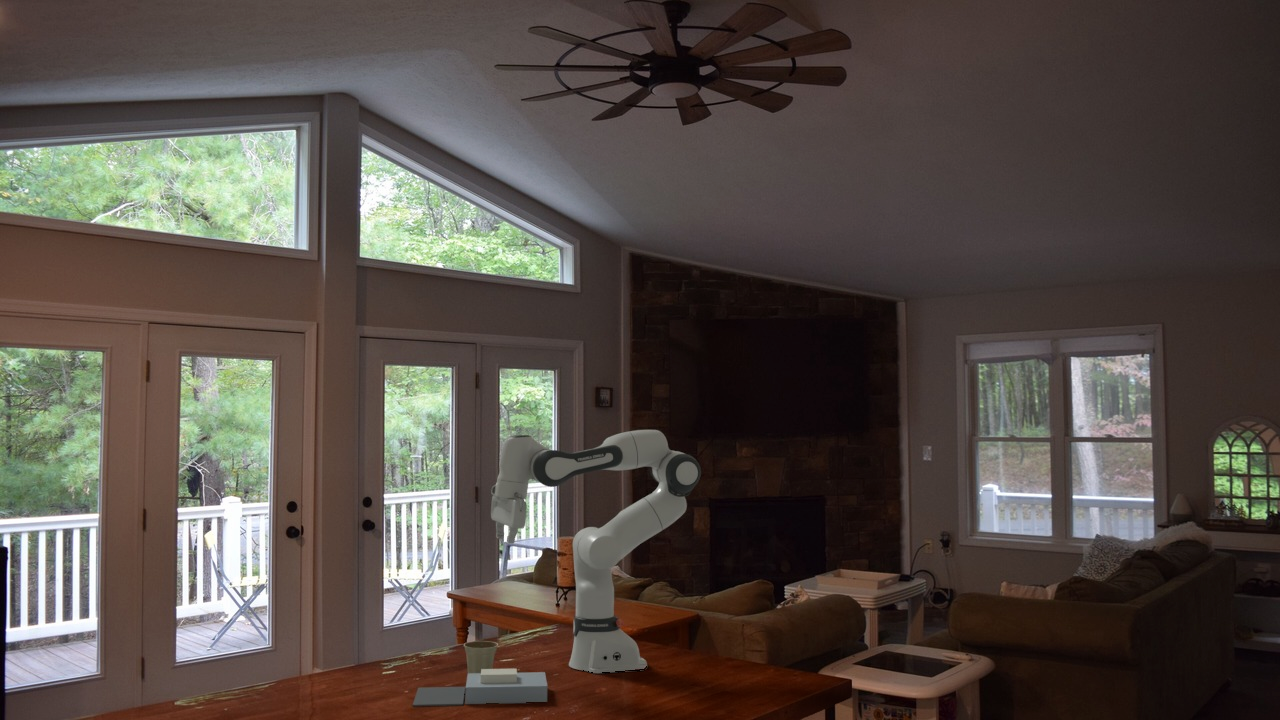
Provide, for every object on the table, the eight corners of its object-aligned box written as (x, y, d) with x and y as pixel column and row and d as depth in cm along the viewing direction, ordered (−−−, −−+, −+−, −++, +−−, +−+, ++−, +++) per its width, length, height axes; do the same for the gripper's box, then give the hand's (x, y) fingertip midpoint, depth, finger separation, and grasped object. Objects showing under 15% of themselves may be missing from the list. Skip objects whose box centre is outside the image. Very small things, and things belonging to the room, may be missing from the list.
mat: (465, 688, 252) (465, 686, 252) (462, 705, 236) (462, 703, 236) (418, 689, 250) (418, 687, 250) (412, 706, 234) (412, 704, 234)
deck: (544, 687, 253) (545, 672, 254) (547, 702, 240) (547, 686, 240) (467, 689, 251) (467, 673, 251) (465, 704, 237) (465, 687, 237)
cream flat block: (516, 676, 249) (516, 668, 249) (516, 682, 243) (516, 674, 243) (481, 677, 248) (481, 669, 248) (480, 683, 242) (480, 674, 242)
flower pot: (503, 674, 267) (504, 642, 268) (487, 682, 258) (488, 649, 259) (473, 671, 270) (474, 639, 271) (456, 678, 261) (457, 646, 262)
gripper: (534, 496, 265) (528, 546, 264) (510, 489, 283) (504, 536, 282) (512, 494, 262) (506, 545, 261) (489, 487, 281) (483, 535, 279)
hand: (504, 540), depth 272 cm, fingers open, 8 cm apart
